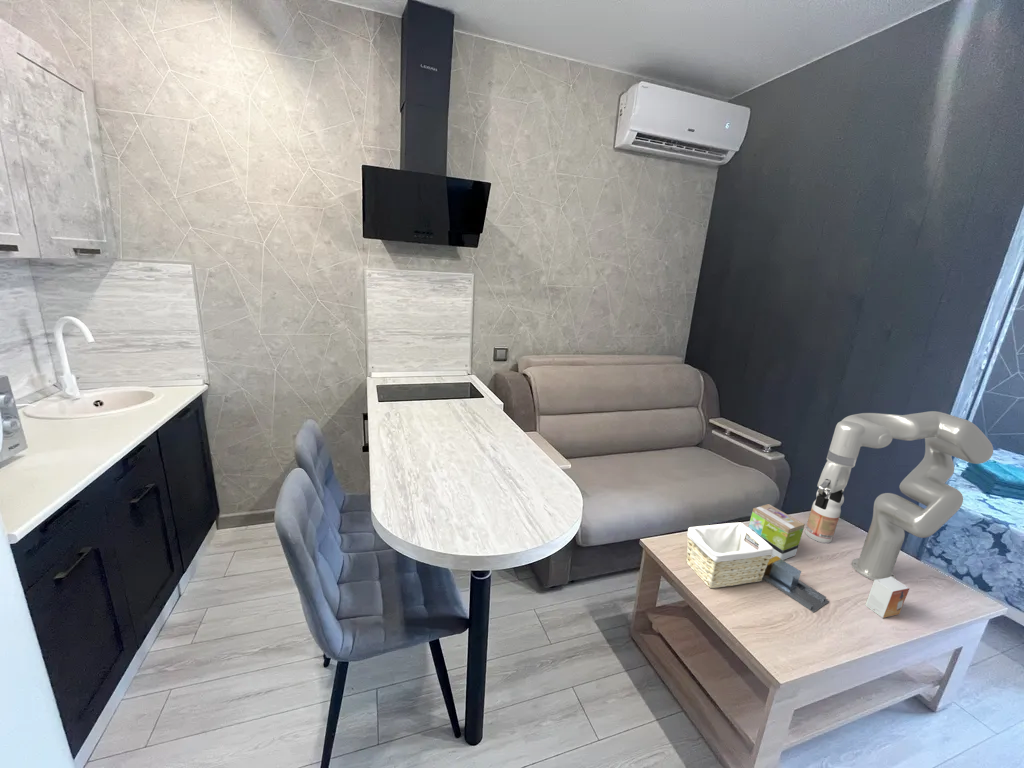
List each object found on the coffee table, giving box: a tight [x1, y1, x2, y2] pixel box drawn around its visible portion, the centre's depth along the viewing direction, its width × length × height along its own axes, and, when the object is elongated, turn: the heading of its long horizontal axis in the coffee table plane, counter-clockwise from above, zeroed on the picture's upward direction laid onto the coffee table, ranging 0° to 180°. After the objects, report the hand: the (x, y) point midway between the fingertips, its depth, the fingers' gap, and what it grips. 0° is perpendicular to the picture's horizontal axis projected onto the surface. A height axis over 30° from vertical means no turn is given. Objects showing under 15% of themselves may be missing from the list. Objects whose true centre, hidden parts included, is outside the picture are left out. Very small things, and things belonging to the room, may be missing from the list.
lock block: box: [769, 559, 802, 590], centre depth 148 cm, size 5×7×6 cm
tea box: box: [745, 503, 806, 561], centre depth 165 cm, size 15×10×15 cm, turn 25°
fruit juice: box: [804, 488, 845, 544], centre depth 173 cm, size 9×9×28 cm
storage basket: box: [685, 521, 773, 589], centre depth 150 cm, size 24×16×15 cm
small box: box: [865, 577, 910, 619], centre depth 137 cm, size 8×6×10 cm
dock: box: [762, 556, 830, 613], centre depth 145 cm, size 10×18×5 cm, turn 30°
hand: (827, 504), depth 143 cm, fingers open, 9 cm apart
